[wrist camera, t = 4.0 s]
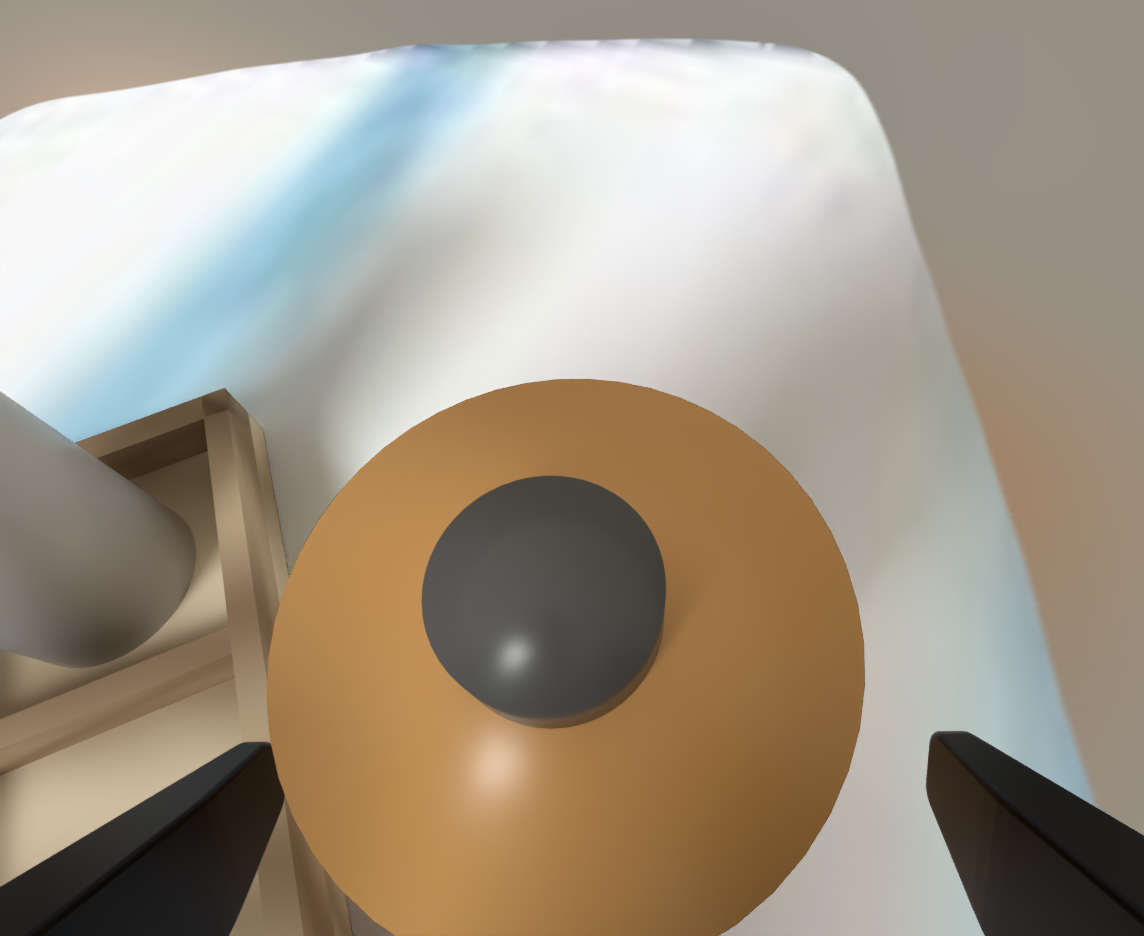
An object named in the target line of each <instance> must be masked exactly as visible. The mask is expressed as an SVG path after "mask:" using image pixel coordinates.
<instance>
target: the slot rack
mask: <svg viewBox="0 0 1144 936" xmlns="http://www.w3.org/2000/svg"><path fill="white" fill-rule="evenodd" d="M75 444H77V445H78V446H80V447H81V448H83V449H84V450H85V451H87V452H88V453H90V454H91V455H93V456H94V457H96V458H97V459H98V460H100V461H101V462H103V463H104V464H106V465H107V466H109V467H110V468H111V469H113V470H114V471H116V472H117V473H119V474H120V475H122V476H123V477H124V478H126V479H127V480H129V481H130V482H132V483H133V484H135V485H136V486H137V487H139V488H140V489H142V490H143V491H145V492H146V493H148V494H149V495H150V496H152V497H153V498H155V499H156V500H158V501H159V502H160V503H162V504H163V505H165V506H166V507H168V508H169V509H171V510H172V511H173V512H175V513H176V514H178V515H179V516H180V517H181V518H182V519H183V520H184V521H185V522H186V523H187V525H188V526H189V528H190V530H191V532H192V534H193V537H194V541H195V546H196V561H195V569H194V573H193V577H192V580H191V582H190V585H189V588H188V590H187V592H186V594H185V596H184V598H183V600H182V601H181V603H180V605H179V606H178V608H177V609H176V611H175V612H174V613H173V615H172V616H171V617H170V618H169V620H168V621H167V622H166V623H165V624H164V625H163V626H162V627H161V628H160V630H159V631H158V632H156V633H155V634H154V635H153V636H152V637H151V638H150V639H149V640H147V641H146V642H145V643H143V644H142V645H140V646H139V647H138V648H136V649H135V650H133V651H131V652H130V653H128V654H126V655H124V656H122V657H120V658H118V659H116V660H114V661H111V662H108V663H105V664H102V665H98V666H94V667H89V668H79V669H78V668H65V667H60V666H56V665H53V664H49V663H46V662H43V661H39V660H36V659H33V658H29V657H26V656H22V655H19V654H16V653H12V652H9V651H6V650H2V649H0V886H2V885H4V884H5V883H7V882H9V881H10V880H12V879H14V878H15V877H17V876H19V875H21V874H22V873H24V872H26V871H27V870H29V869H31V868H32V867H34V866H36V865H37V864H39V863H41V862H42V861H44V860H46V859H47V858H49V857H51V856H52V855H54V854H56V853H57V852H59V851H61V850H62V849H64V848H66V847H67V846H69V845H71V844H72V843H74V842H76V841H77V840H79V839H81V838H82V837H84V836H86V835H87V834H89V833H91V832H92V831H94V830H96V829H97V828H99V827H101V826H103V825H104V824H106V823H108V822H109V821H111V820H113V819H114V818H116V817H118V816H119V815H121V814H123V813H124V812H126V811H128V810H129V809H131V808H133V807H134V806H136V805H138V804H139V803H141V802H143V801H144V800H146V799H148V798H149V797H151V796H153V795H154V794H156V793H158V792H159V791H161V790H163V789H164V788H166V787H168V786H169V785H171V784H173V783H174V782H176V781H178V780H179V779H181V778H183V777H184V776H186V775H188V774H190V773H191V772H193V771H195V770H196V769H198V768H200V767H201V766H203V765H205V764H206V763H208V762H210V761H211V760H213V759H215V758H216V757H218V756H220V755H221V754H223V753H225V752H226V751H228V750H230V749H231V748H233V747H235V746H236V745H238V744H240V743H243V742H270V743H271V741H270V735H269V723H268V711H267V699H266V696H267V674H268V657H269V652H270V646H271V640H272V634H273V628H274V622H275V619H276V615H277V612H278V609H279V605H280V602H281V599H282V595H283V592H284V589H285V586H286V583H287V581H288V579H289V575H288V569H287V564H286V558H285V552H284V547H283V541H282V536H281V530H280V524H279V519H278V513H277V507H276V502H275V496H274V491H273V485H272V479H271V474H270V468H269V462H268V457H267V451H266V446H265V440H264V434H263V429H262V428H261V427H260V425H259V424H258V423H257V422H256V421H255V420H254V419H253V418H252V417H251V416H250V415H249V414H248V413H247V412H246V411H245V409H244V408H243V407H242V406H241V405H240V404H239V403H238V402H237V401H236V400H235V399H234V398H233V397H232V396H231V394H230V393H229V392H228V391H227V390H226V389H225V388H223V389H221V390H218V391H215V392H212V393H210V394H207V395H204V396H201V397H199V398H196V399H193V400H191V401H188V402H185V403H182V404H180V405H177V406H174V407H171V408H169V409H166V410H163V411H161V412H158V413H155V414H152V415H150V416H147V417H144V418H141V419H139V420H136V421H133V422H131V423H128V424H125V425H122V426H120V427H117V428H114V429H111V430H109V431H106V432H103V433H101V434H98V435H95V436H92V437H90V438H87V439H84V440H81V441H79V442H76V443H75ZM229 936H353V935H352V929H351V923H350V918H349V912H348V907H347V901H346V895H345V893H344V892H343V891H341V889H340V888H339V887H338V886H337V884H336V883H335V882H334V880H333V879H332V878H331V876H330V875H329V874H328V873H327V871H326V870H325V869H324V867H323V866H322V865H321V863H320V862H319V861H318V859H317V858H316V857H315V856H314V854H313V852H312V850H311V849H310V847H309V845H308V843H307V841H306V839H305V838H304V836H303V834H302V832H301V830H300V829H299V827H298V825H297V823H296V821H295V819H294V818H293V815H292V813H291V810H290V807H289V805H288V802H287V799H286V796H285V799H284V804H283V807H282V810H281V813H280V815H279V818H278V820H277V823H276V825H275V828H274V830H273V833H272V835H271V838H270V840H269V843H268V845H267V848H266V850H265V853H264V855H263V858H262V860H261V863H260V865H259V868H258V870H257V873H256V875H255V878H254V880H253V883H252V885H251V888H250V890H249V893H248V895H247V898H246V900H245V902H244V905H243V907H242V909H241V912H240V914H239V916H238V919H237V921H236V923H235V925H234V927H233V929H232V931H231V933H230V935H229Z"/></svg>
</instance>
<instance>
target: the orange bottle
mask: <svg viewBox="0 0 1144 936" xmlns="http://www.w3.org/2000/svg"><path fill="white" fill-rule="evenodd" d="M864 688H865V667H864V640H863V634H862V628H861V622H860V615H859V609H858V603H857V600H856V596H855V593H854V590H853V586H852V583H851V580H850V576H849V573H848V570H847V566H846V564H845V562H844V559H843V557H842V555H841V553H840V551H839V548H838V546H837V544H836V542H835V539H834V537H833V535H832V533H831V531H830V529H829V527H828V526H827V524H826V523H825V521H824V519H823V518H822V516H821V514H820V513H819V511H818V510H817V508H816V506H815V505H814V503H813V501H812V500H811V499H810V497H809V496H808V495H807V494H806V492H805V491H804V490H803V489H802V487H801V486H800V485H799V484H798V482H797V481H796V480H795V479H794V477H793V476H792V475H791V474H790V472H789V471H788V470H787V469H786V468H784V467H783V466H782V465H781V464H780V463H779V462H778V461H777V460H776V459H775V458H774V457H773V456H772V455H771V454H770V453H769V452H768V451H767V450H766V449H765V448H764V447H762V446H761V445H760V444H758V443H757V442H756V441H755V440H753V439H752V438H751V437H749V436H748V435H747V434H745V433H744V432H743V431H741V430H740V429H739V428H737V427H736V426H734V425H732V424H731V423H729V422H727V421H726V420H724V419H722V418H721V417H719V416H717V415H716V414H714V413H712V412H710V411H708V410H706V409H704V408H702V407H700V406H697V405H695V404H693V403H691V402H688V401H686V400H684V399H682V398H679V397H676V396H673V395H670V394H667V393H664V392H660V391H657V390H654V389H651V388H647V387H642V386H637V385H632V384H627V383H622V382H614V381H604V380H593V379H557V380H548V381H540V382H531V383H525V384H520V385H516V386H511V387H507V388H502V389H498V390H494V391H491V392H488V393H485V394H482V395H479V396H476V397H473V398H470V399H467V400H465V401H463V402H460V403H458V404H456V405H454V406H452V407H449V408H447V409H445V410H443V411H441V412H438V413H436V414H435V415H433V416H431V417H430V418H428V419H426V420H424V421H423V422H421V423H419V424H418V425H416V426H414V427H412V428H411V429H409V430H408V431H406V432H405V433H404V434H402V435H401V436H400V437H398V438H397V439H395V440H394V441H393V442H391V443H390V444H389V445H387V446H386V447H384V448H383V449H382V450H381V451H380V452H379V453H378V454H377V455H375V456H374V457H373V458H372V459H371V460H370V461H369V462H368V463H367V464H365V465H364V466H363V467H362V468H361V469H360V470H359V471H358V472H357V473H356V474H355V475H354V476H353V478H352V479H351V480H350V481H349V482H348V483H347V484H346V485H345V487H344V488H343V489H342V490H341V491H340V492H339V493H338V494H337V495H336V497H335V498H334V500H333V501H332V502H331V504H330V505H329V507H328V508H327V509H326V511H325V512H324V513H323V515H322V516H321V518H320V519H319V520H318V522H317V523H316V525H315V527H314V528H313V530H312V532H311V534H310V535H309V537H308V539H307V541H306V543H305V544H304V546H303V548H302V550H301V551H300V553H299V555H298V558H297V560H296V562H295V565H294V567H293V569H292V572H291V574H290V576H289V579H288V581H287V583H286V586H285V589H284V592H283V595H282V599H281V602H280V605H279V609H278V612H277V615H276V619H275V622H274V628H273V634H272V640H271V646H270V652H269V657H268V674H267V696H266V699H267V711H268V723H269V735H270V741H271V746H272V750H273V755H274V760H275V764H276V769H277V773H278V778H279V780H280V783H281V786H282V788H283V791H284V794H285V796H286V799H287V802H288V805H289V807H290V810H291V813H292V815H293V818H294V819H295V821H296V823H297V825H298V827H299V829H300V830H301V832H302V834H303V836H304V838H305V839H306V841H307V843H308V845H309V847H310V849H311V850H312V852H313V854H314V856H315V857H316V858H317V859H318V861H319V862H320V863H321V865H322V866H323V867H324V869H325V870H326V871H327V873H328V874H329V875H330V876H331V878H332V879H333V880H334V882H335V883H336V884H337V886H338V887H339V888H340V889H341V891H343V892H344V893H345V894H346V895H347V896H348V897H349V898H350V899H351V900H352V901H353V902H354V903H355V904H356V905H357V906H358V907H359V908H360V909H361V910H362V911H364V912H365V913H366V914H367V915H368V916H369V917H370V918H371V919H372V920H373V921H374V922H376V923H377V924H379V925H380V926H382V927H383V928H384V929H386V930H387V931H389V932H390V933H392V934H393V935H395V936H719V935H720V934H722V933H724V932H725V931H727V930H728V929H730V928H732V927H733V926H735V925H736V924H738V923H739V922H740V921H741V920H742V919H743V918H744V917H746V916H747V915H748V914H749V913H750V912H751V911H753V910H754V909H755V908H756V907H757V906H758V905H759V904H761V903H762V902H763V901H764V900H765V899H766V898H768V897H769V896H770V895H771V894H772V893H773V892H774V891H775V890H776V889H777V888H778V887H779V885H780V884H781V883H782V882H783V881H784V879H785V878H786V877H787V876H788V875H789V874H790V872H791V871H792V870H793V869H794V868H795V866H796V865H797V864H798V863H799V862H800V861H801V859H802V858H803V857H804V856H805V855H806V853H807V851H808V850H809V848H810V846H811V845H812V843H813V842H814V840H815V838H816V837H817V835H818V833H819V832H820V830H821V828H822V827H823V825H824V824H825V822H826V820H827V819H828V817H829V815H830V814H831V811H832V809H833V807H834V804H835V802H836V800H837V797H838V795H839V793H840V790H841V788H842V785H843V783H844V781H845V778H846V776H847V774H848V771H849V768H850V764H851V760H852V756H853V752H854V749H855V745H856V741H857V737H858V733H859V730H860V723H861V714H862V706H863V697H864Z"/></svg>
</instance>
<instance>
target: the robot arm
mask: <svg viewBox="0 0 1144 936" xmlns="http://www.w3.org/2000/svg"><path fill="white" fill-rule="evenodd" d="M926 790H927V796H928V800H929V803H930V806H931V808H932V811H933V813H934V815H935V818H936V820H937V823H938V825H939V828H940V830H941V833H942V835H943V837H944V840H945V842H946V845H947V847H948V850H949V852H950V855H951V857H952V859H953V862H954V864H955V867H956V869H957V872H958V874H959V877H960V879H961V881H962V884H963V886H964V889H965V891H966V894H967V896H968V899H969V901H970V903H971V906H972V908H973V911H974V913H975V915H976V917H977V920H978V922H979V924H980V927H981V929H982V931H983V933H984V935H985V936H1144V836H1143V835H1142V834H1140V833H1138V832H1137V831H1135V830H1133V829H1132V828H1130V827H1128V826H1127V825H1125V824H1123V823H1121V822H1120V821H1118V820H1116V819H1115V818H1113V817H1111V816H1110V815H1108V814H1106V813H1105V812H1103V811H1101V810H1100V809H1098V808H1096V807H1095V806H1093V805H1091V804H1089V803H1088V802H1086V801H1084V800H1083V799H1081V798H1079V797H1078V796H1076V795H1074V794H1073V793H1071V792H1069V791H1067V790H1066V789H1064V788H1062V787H1061V786H1059V785H1057V784H1056V783H1054V782H1052V781H1051V780H1049V779H1047V778H1046V777H1044V776H1042V775H1040V774H1039V773H1037V772H1035V771H1034V770H1032V769H1030V768H1029V767H1027V766H1025V765H1024V764H1022V763H1020V762H1018V761H1017V760H1015V759H1013V758H1012V757H1010V756H1008V755H1007V754H1005V753H1003V752H1002V751H1000V750H998V749H997V748H995V747H993V746H991V745H990V744H988V743H986V742H985V741H983V740H981V739H980V738H978V737H976V736H975V735H973V734H971V733H969V732H966V731H938V732H935V733H934V734H933V735H932V736H931V739H930V744H929V755H928V767H927V778H926ZM284 799H285V794H284V791H283V788H282V786H281V783H280V780H279V778H278V773H277V769H276V764H275V760H274V755H273V750H272V746H271V743H270V742H243V743H240V744H238V745H236V746H235V747H233V748H231V749H230V750H228V751H226V752H225V753H223V754H221V755H220V756H218V757H216V758H215V759H213V760H211V761H210V762H208V763H206V764H205V765H203V766H201V767H200V768H198V769H196V770H195V771H193V772H191V773H190V774H188V775H186V776H184V777H183V778H181V779H179V780H178V781H176V782H174V783H173V784H171V785H169V786H168V787H166V788H164V789H163V790H161V791H159V792H158V793H156V794H154V795H153V796H151V797H149V798H148V799H146V800H144V801H143V802H141V803H139V804H138V805H136V806H134V807H133V808H131V809H129V810H128V811H126V812H124V813H123V814H121V815H119V816H118V817H116V818H114V819H113V820H111V821H109V822H108V823H106V824H104V825H103V826H101V827H99V828H97V829H96V830H94V831H92V832H91V833H89V834H87V835H86V836H84V837H82V838H81V839H79V840H77V841H76V842H74V843H72V844H71V845H69V846H67V847H66V848H64V849H62V850H61V851H59V852H57V853H56V854H54V855H52V856H51V857H49V858H47V859H46V860H44V861H42V862H41V863H39V864H37V865H36V866H34V867H32V868H31V869H29V870H27V871H26V872H24V873H22V874H21V875H19V876H17V877H15V878H14V879H12V880H10V881H9V882H7V883H5V884H4V885H2V886H0V936H229V935H230V933H231V931H232V929H233V927H234V925H235V923H236V921H237V919H238V916H239V914H240V912H241V909H242V907H243V905H244V902H245V900H246V898H247V895H248V893H249V890H250V888H251V885H252V883H253V880H254V878H255V875H256V873H257V870H258V868H259V865H260V863H261V860H262V858H263V855H264V853H265V850H266V848H267V845H268V843H269V840H270V838H271V835H272V833H273V830H274V828H275V825H276V823H277V820H278V818H279V815H280V813H281V810H282V807H283V804H284Z"/></svg>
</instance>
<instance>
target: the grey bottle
mask: <svg viewBox="0 0 1144 936" xmlns="http://www.w3.org/2000/svg"><path fill="white" fill-rule="evenodd" d="M195 561H196V546H195V541H194V537H193V534H192V532H191V530H190V528H189V526H188V525H187V523H186V522H185V521H184V520H183V519H182V518H181V517H180V516H179V515H178V514H176V513H175V512H173V511H172V510H171V509H169V508H168V507H166V506H165V505H163V504H162V503H160V502H159V501H158V500H156V499H155V498H153V497H152V496H150V495H149V494H148V493H146V492H145V491H143V490H142V489H140V488H139V487H137V486H136V485H135V484H133V483H132V482H130V481H129V480H127V479H126V478H124V477H123V476H122V475H120V474H119V473H117V472H116V471H114V470H113V469H111V468H110V467H109V466H107V465H106V464H104V463H103V462H101V461H100V460H98V459H97V458H96V457H94V456H93V455H91V454H90V453H88V452H87V451H85V450H84V449H83V448H81V447H80V446H78V445H77V444H75V443H74V442H73V441H71V440H70V439H68V438H67V437H65V436H64V435H62V434H61V433H60V432H58V431H57V430H55V429H54V428H52V427H51V426H49V425H48V424H47V423H45V422H44V421H42V420H41V419H39V418H38V417H36V416H35V415H34V414H32V413H31V412H29V411H28V410H26V409H25V408H23V407H22V406H21V405H19V404H18V403H16V402H15V401H13V400H12V399H11V398H9V397H8V396H6V395H5V394H3V393H2V392H0V649H2V650H6V651H9V652H12V653H16V654H19V655H22V656H26V657H29V658H33V659H36V660H39V661H43V662H46V663H49V664H53V665H56V666H60V667H65V668H78V669H79V668H89V667H94V666H98V665H102V664H105V663H108V662H111V661H114V660H116V659H118V658H120V657H122V656H124V655H126V654H128V653H130V652H131V651H133V650H135V649H136V648H138V647H139V646H140V645H142V644H143V643H145V642H146V641H147V640H149V639H150V638H151V637H152V636H153V635H154V634H155V633H156V632H158V631H159V630H160V628H161V627H162V626H163V625H164V624H165V623H166V622H167V621H168V620H169V618H170V617H171V616H172V615H173V613H174V612H175V611H176V609H177V608H178V606H179V605H180V603H181V601H182V600H183V598H184V596H185V594H186V592H187V590H188V588H189V585H190V582H191V580H192V577H193V573H194V569H195Z"/></svg>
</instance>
